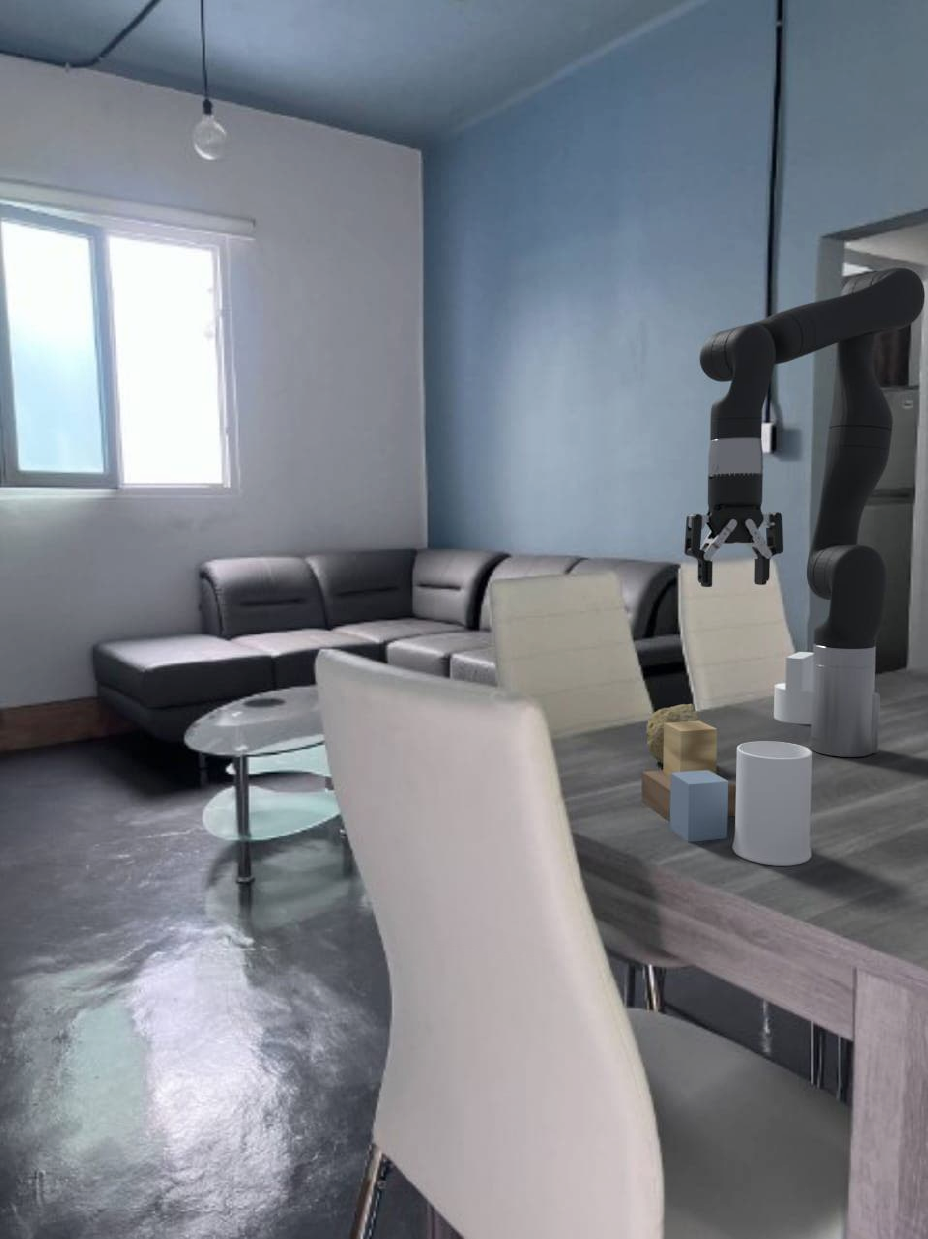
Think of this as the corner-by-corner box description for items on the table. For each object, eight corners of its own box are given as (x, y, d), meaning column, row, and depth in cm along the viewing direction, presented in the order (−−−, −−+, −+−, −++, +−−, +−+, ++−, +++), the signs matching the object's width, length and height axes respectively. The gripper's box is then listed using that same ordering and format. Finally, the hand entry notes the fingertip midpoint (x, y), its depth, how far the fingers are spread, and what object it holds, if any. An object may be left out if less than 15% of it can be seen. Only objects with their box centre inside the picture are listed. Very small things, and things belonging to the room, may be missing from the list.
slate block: (707, 824, 115) (708, 769, 114) (726, 838, 110) (728, 781, 110) (669, 828, 114) (670, 772, 113) (688, 842, 109) (688, 784, 109)
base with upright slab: (782, 711, 180) (783, 650, 179) (830, 716, 175) (832, 654, 173) (767, 720, 173) (769, 656, 171) (817, 726, 168) (819, 660, 166)
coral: (730, 726, 138) (669, 700, 137) (700, 786, 140) (640, 760, 139) (714, 708, 147) (657, 684, 147) (686, 764, 149) (630, 740, 148)
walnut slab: (703, 795, 127) (703, 767, 127) (735, 816, 118) (736, 785, 118) (641, 800, 125) (641, 771, 125) (670, 821, 116) (670, 790, 116)
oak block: (698, 771, 124) (698, 720, 124) (716, 782, 119) (717, 728, 119) (663, 774, 123) (664, 722, 122) (680, 785, 118) (680, 731, 118)
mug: (732, 827, 114) (734, 732, 113) (806, 833, 112) (809, 736, 110) (732, 862, 103) (734, 756, 101) (814, 869, 100) (817, 761, 99)
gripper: (766, 473, 137) (764, 582, 139) (677, 473, 134) (676, 585, 136) (795, 470, 130) (792, 586, 132) (701, 471, 127) (700, 589, 129)
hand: (733, 585), depth 134 cm, fingers open, 8 cm apart
